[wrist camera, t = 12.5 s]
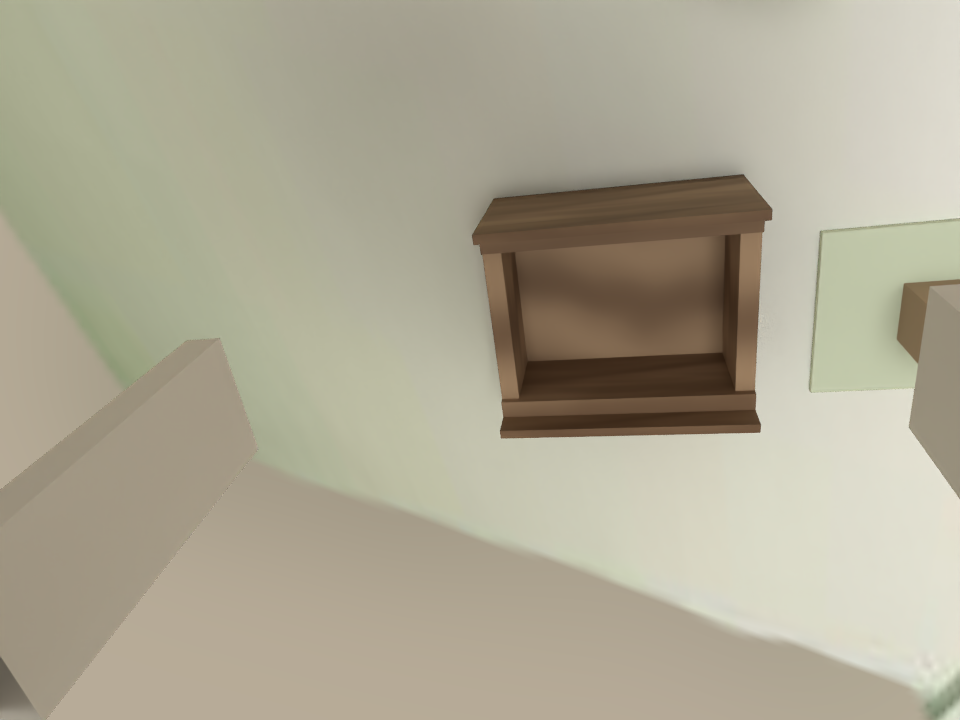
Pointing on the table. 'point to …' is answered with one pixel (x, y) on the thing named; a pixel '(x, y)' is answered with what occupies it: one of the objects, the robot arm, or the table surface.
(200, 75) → the table surface
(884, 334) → the lid
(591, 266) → the walnut box
